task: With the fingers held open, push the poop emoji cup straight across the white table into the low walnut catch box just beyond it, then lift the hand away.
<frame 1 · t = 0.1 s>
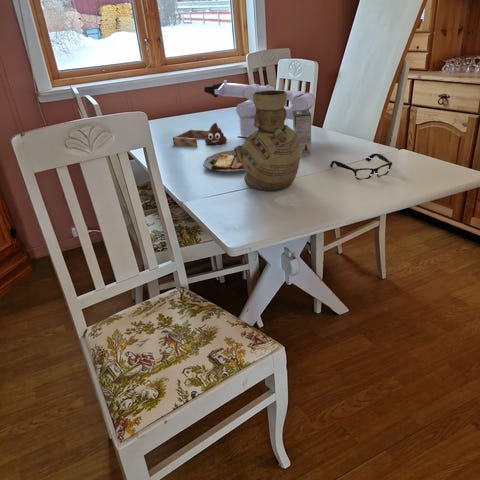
hand: (209, 88, 197), 22 cm above the table, fingers open, 7 cm apart
poop emoji: (216, 143, 192), on the table
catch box: (194, 141, 197), on the table
coffee box: (302, 153, 168), on the table
food plate: (235, 165, 162), on the table
ceramic vessel: (271, 185, 140), on the table
glasses: (360, 171, 146), on the table
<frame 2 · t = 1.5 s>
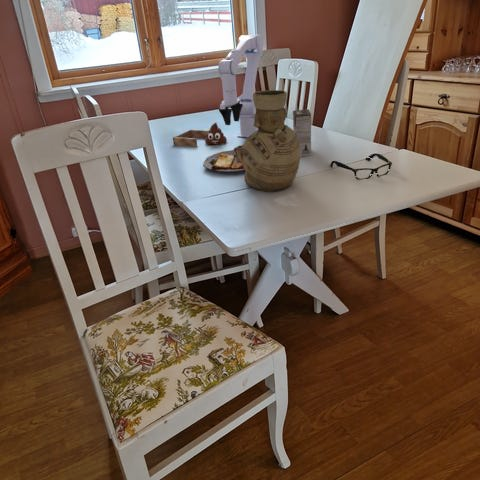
hand: (232, 123, 183), 9 cm above the table, fingers open, 7 cm apart
nothing on the table moved.
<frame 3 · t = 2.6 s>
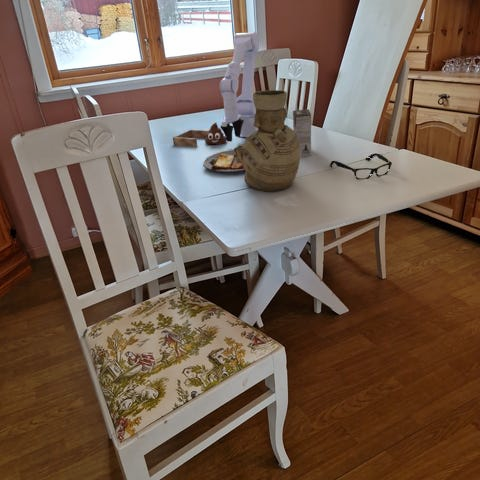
hand: (233, 138, 186), 2 cm above the table, fingers open, 7 cm apart
nothing on the table moved.
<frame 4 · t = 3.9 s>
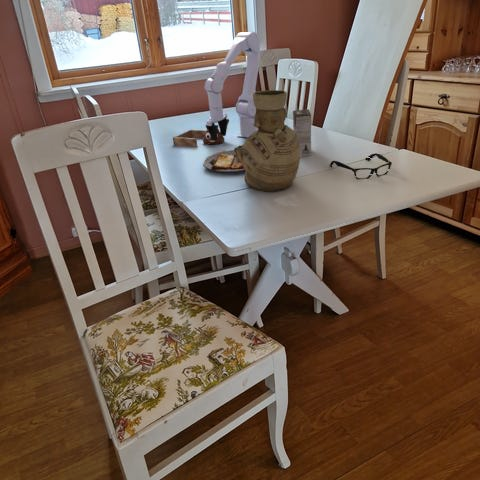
hand: (219, 138, 190), 2 cm above the table, fingers open, 7 cm apart
poop emoji: (213, 143, 193), on the table, touching gripper
everything else where it was.
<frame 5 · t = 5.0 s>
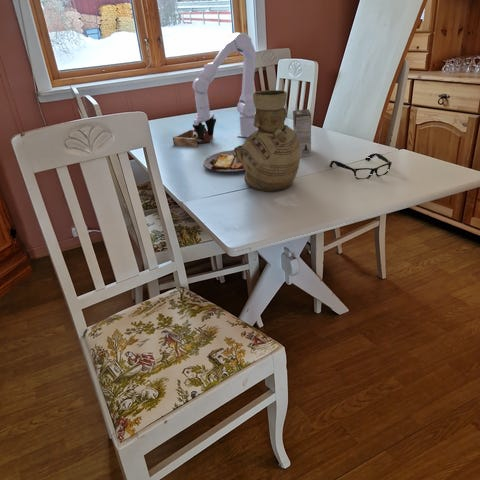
hand: (206, 137, 193), 2 cm above the table
poop emoji: (201, 142, 196), on the table, touching gripper
everything else where it was.
when the fingers open (2 cm above the table, at t = 6.1 s): poop emoji stays where it is, on the table.
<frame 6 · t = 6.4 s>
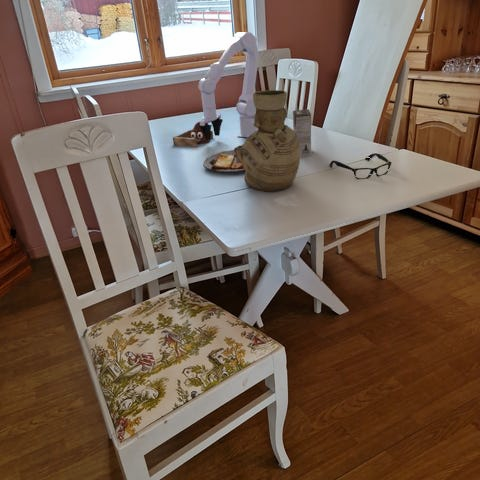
hand: (212, 137, 192), 2 cm above the table, fingers open, 7 cm apart
poop emoji: (199, 142, 197), on the table
everything else where it was.
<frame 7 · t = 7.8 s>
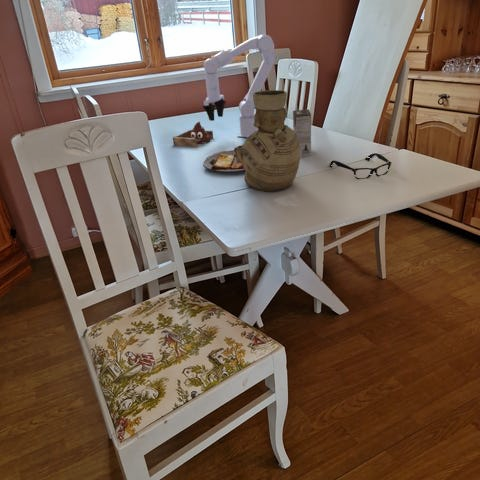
hand: (216, 118, 194), 9 cm above the table, fingers open, 7 cm apart
nothing on the table moved.
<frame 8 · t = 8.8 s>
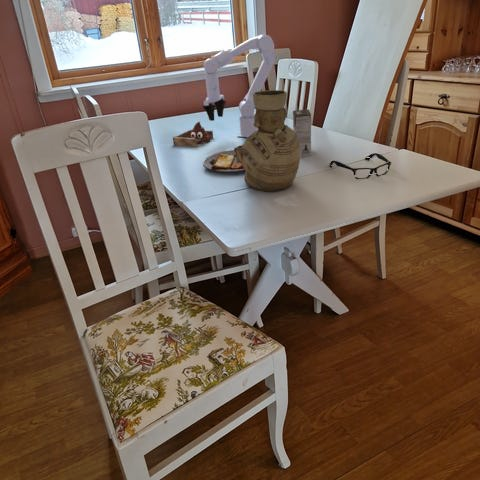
hand: (216, 118, 194), 9 cm above the table, fingers open, 7 cm apart
nothing on the table moved.
at the end: poop emoji inside the target area (3.2 cm from its centre), on the table; poop emoji moved 9.3 cm from its start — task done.
